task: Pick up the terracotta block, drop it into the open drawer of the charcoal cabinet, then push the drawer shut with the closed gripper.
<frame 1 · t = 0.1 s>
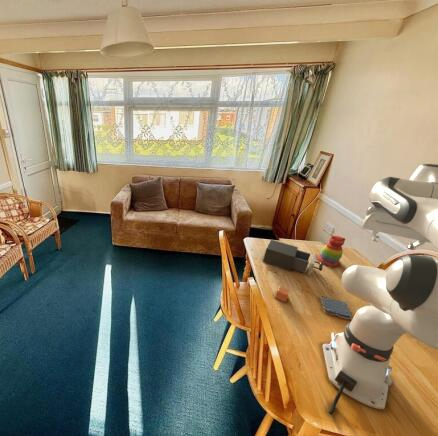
hand: (392, 244, 83), 39 cm above the table, tool pointing down, fingers open, 8 cm apart
drawer: (303, 261, 130), point 5 cm above the table, slide at 8.0 cm
cabinet: (278, 261, 138), on the table
block: (281, 297, 112), on the table
stacking bear: (327, 262, 137), on the table
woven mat: (334, 309, 105), on the table
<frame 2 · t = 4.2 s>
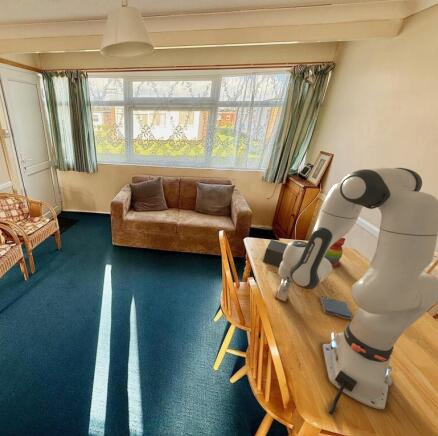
hand: (282, 294, 111), 2 cm above the table, tool pointing down, fingers closed on block, 4 cm apart
block: (281, 297, 112), on the table, touching gripper
everything else where it was.
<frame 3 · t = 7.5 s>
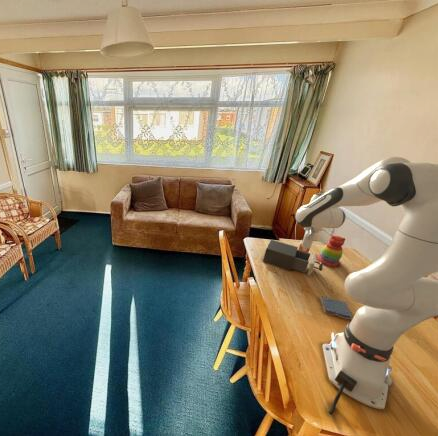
hand: (304, 247, 120), 18 cm above the table, tool pointing down, fingers closed on block, 4 cm apart
block: (303, 250, 120), point 16 cm above the table, touching gripper
everything else where it was.
when the fingers open (8 cm above the table, at t = 11.3 s): block stays where it is, resting on drawer.
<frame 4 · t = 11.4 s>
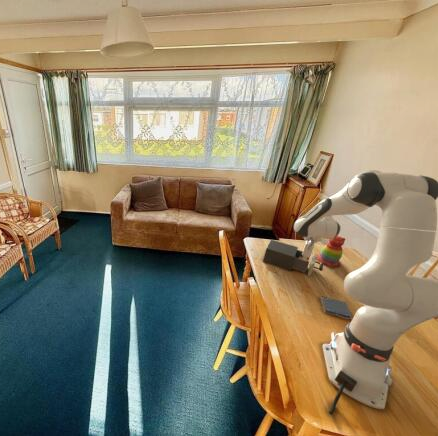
hand: (305, 256, 128), 9 cm above the table, tool pointing down, fingers open, 8 cm apart
drawer: (303, 261, 130), point 5 cm above the table, slide at 8.2 cm, touching block
block: (301, 265, 131), point 2 cm above the table, touching drawer
everything else where it was.
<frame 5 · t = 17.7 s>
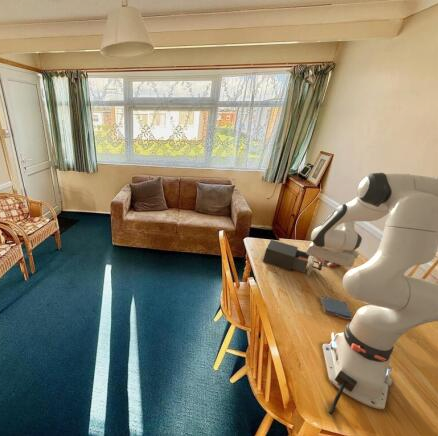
hand: (324, 266, 124), 6 cm above the table, tool pointing down, fingers closed
drawer: (302, 261, 130), point 5 cm above the table, slide at 7.7 cm, touching block, gripper
everything else where it was.
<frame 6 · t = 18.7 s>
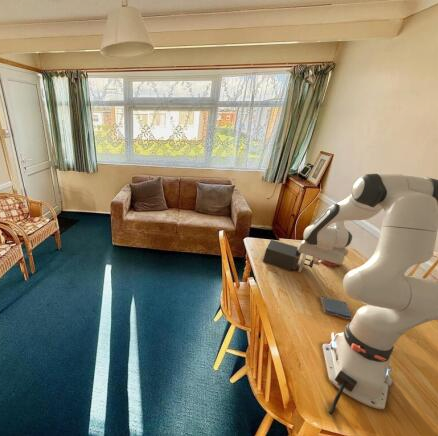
hand: (316, 263, 126), 6 cm above the table, tool pointing down, fingers closed
drawer: (294, 259, 132), point 5 cm above the table, slide at 3.6 cm, touching block, gripper
block: (292, 262, 134), point 2 cm above the table, touching drawer
everything else where it was.
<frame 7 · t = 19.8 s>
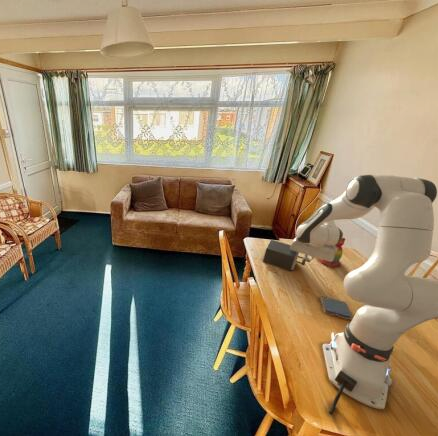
hand: (307, 261, 129), 6 cm above the table, tool pointing down, fingers closed
drawer: (287, 256, 134), point 5 cm above the table, slide at 0.0 cm, touching cabinet, gripper
block: (285, 260, 136), point 2 cm above the table
everything else where it was.
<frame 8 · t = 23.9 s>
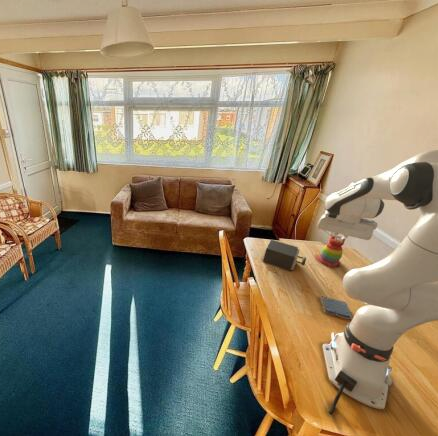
hand: (338, 241, 111), 25 cm above the table, tool pointing down, fingers closed
drawer: (287, 256, 134), point 5 cm above the table, slide at 0.0 cm, touching block
block: (285, 260, 136), point 2 cm above the table, touching drawer
everything else where it was.
at the end: block inside the target area in the cabinet (3.3 cm from its centre), point 2.0 cm above the cabinet's base; drawer slide at 0.0 cm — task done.
